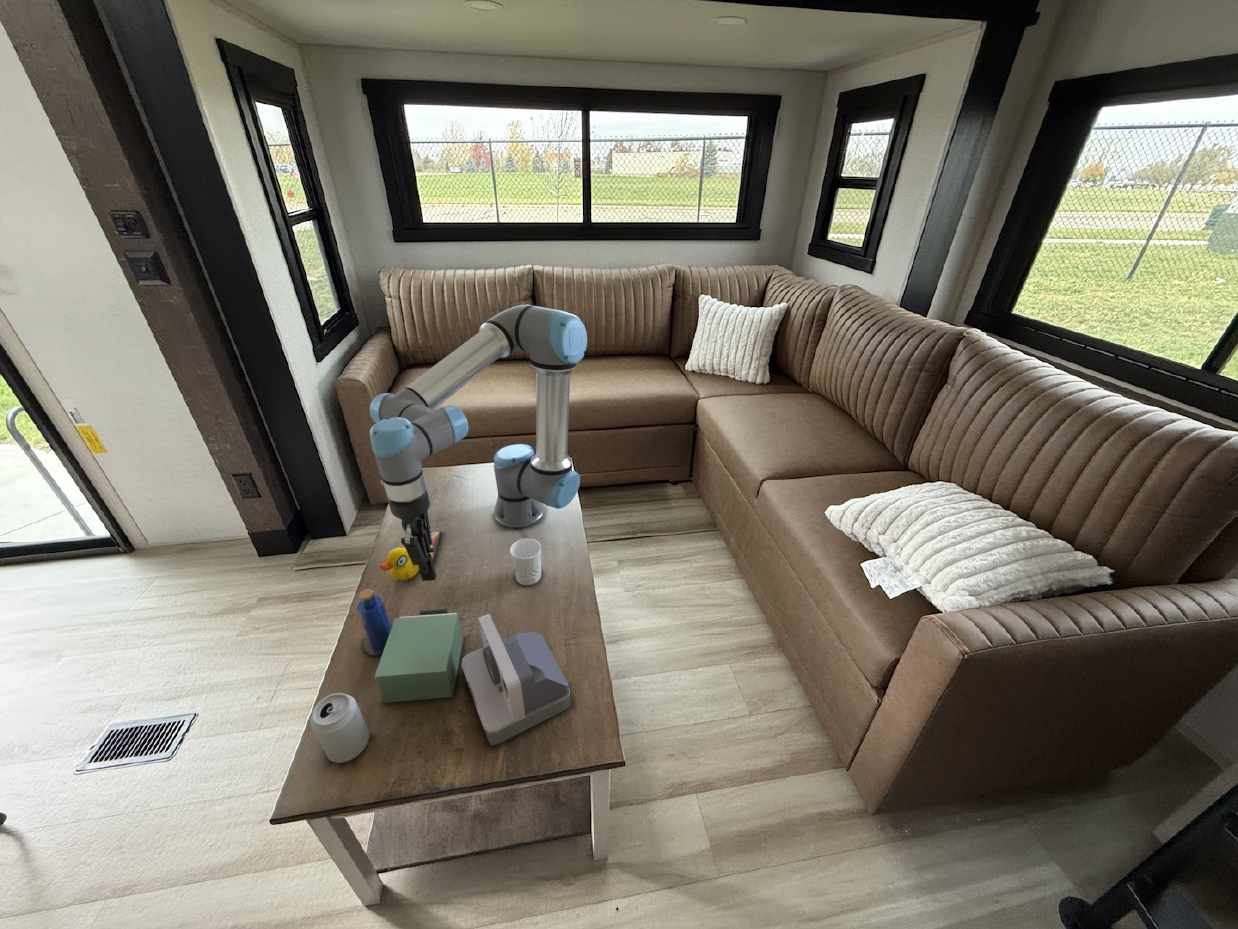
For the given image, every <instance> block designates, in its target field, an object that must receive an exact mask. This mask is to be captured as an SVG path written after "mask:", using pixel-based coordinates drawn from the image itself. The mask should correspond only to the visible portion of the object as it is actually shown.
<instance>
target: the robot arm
mask: <svg viewBox="0 0 1238 929" xmlns="http://www.w3.org/2000/svg"><path fill="white" fill-rule="evenodd" d="M478 331H479V332H477V333H475V335H473V336H472V337H470V339H467V341H465V342H464V343H463V344H461V345H460V346H458V347H457V348H456V349H454V350H453V351H452V352H450V353H449V354H448V355H446V356H445V357H444V358H443V359H441V360H440V361H438V362H437V363H436V364H434V365H433V366H432V367H430V368H429V369H427V370H426V371H425V372H424V373H422V374H421V375H420V376H418V377H417V378H416V379H414V380H413V381H412V382H410V383H409V384H408V385H406V386H404V388H402V389H401V390H399V391H398V392H396V393H389V392H384V393H380V394H378V395H376V396H375V397H374V398H373V399H372V401H371V403H370V406H369V415H370V418H371V420H372V421H373V423H374V424H373V425H372V426H371V428H370V430H369V437H370V443H371V450H372V453H373V455H374V457H375V461H376V464H377V467H378V471H379V474H380V477H381V480H380V485H382V486H383V488H384V491H385V494H386V497H387V502H388V506H389V509H390V513H391V514H392V516H394V517H395V518H397V519H399V520H401V528H402V529H403V531H404V533H405V536H403V537H401V538H400V543H401V545H402V546H403V547H404V548H406V550H407V553H408V555H409V557H410V559H411V561H412V563H413V565H418V566H419V570H418V571H419V573H420V577H421V580H422V582H428V581H429V582H430V581H436V578H437V573H436V568H435V564H434V562H433V560H432V556H431V554H430V553H434V548H431V547H430V545H432V538H431V526H430V519H429V508H430V506H431V501H430V496H429V492H428V488H427V482H426V478H425V474H424V471H423V466H422V461H424V460H426V459H427V458H430V457H431V456H433V455H435V454H436V453H439V452H441V451H443V450H445V449H447V448H449V447H451V446H454V445H456V443H458V442H459V441H461V440H463V439H464V438H466V437H467V435H468V433H469V422H468V421H469V420H468V418H467V417H466V415H465V413H464V412H463V411H462V410H461V409H460V408H459V407H457V406H455V405H447V406H444V407H440V408H439V406H441V405H442V404H443V403H444V402H446V401H447V400H448V399H449V398H451V397H452V396H453V395H454V394H456V393H457V392H458V391H459V390H461V389H462V388H463V387H464V386H466V385H467V384H468V383H469V382H471V381H472V380H473V379H474V378H476V377H477V376H478V375H479V374H480V373H482V372H483V371H484V370H486V369H487V368H488V367H490V365H492V364H493V363H494V362H495V361H497V360H498V359H499V358H501V359H502V358H507V357H508V356H510V355H511V354H512V353H514V352H525V353H529V354H530V355H529V356H530V366H531V367H532V368H533V369H534V371H535V373H536V384H535V385H536V389H535V393H536V395H535V396H536V397H535V398H536V400H535V401H536V404H535V410H536V412H535V413H536V414H535V416H536V417H535V451H534V449H533V447H532V446H530V445H529V444H525V443H524V444H523V443H516V444H510V445H507V446H504V447H502V448H500V449H499V450H497V451H496V452H495V453H494V455H493V471H494V477H495V484H496V490H497V499H496V502H495V506H494V519H495V521H496V522H497V523H498V524H499V525H500V526H502V527H504V528H508V529H514V530H515V529H516V530H517V529H525V528H528V527H531V526H534V525H535V524H537V523H538V522H540V521H541V520H542V519H543V517H544V514H545V507H544V505H545V506H546V507H550V508H554V509H557V510H559V509H563V508H566V507H567V506H568V505H569V504H570V503H571V502H572V501H573V499H574V498H575V497H576V495H577V493H578V491H579V488H580V485H581V476H580V474H579V473H578V472H577V471H575V470H573V459H572V457H571V456H570V455H569V454H568V444H569V418H570V417H569V416H570V414H569V413H570V388H571V374H572V372H573V371H574V370H575V369H576V368H577V363H579V362H581V361H582V359H583V358H584V356H585V352H586V351H587V347H588V334H587V329H586V327H585V324H584V323H583V321H582V320H581V318H580V317H579V316H577V315H575V314H573V313H569V312H567V311H564V310H560V309H555V308H548V307H543V306H537V305H534V304H519V305H515V306H512V307H510V308H507V309H505V310H503V311H500V312H499V313H497V314H495V315H494V316H492V317H491V318H488V320H487V321H485V322H484V323H482V324H481V325H480V326H479V330H478ZM437 408H439V409H437Z"/></svg>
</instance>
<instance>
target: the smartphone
mask: <svg viewBox="0 0 1238 929" xmlns="http://www.w3.org/2000/svg"><path fill="white" fill-rule="evenodd" d="M430 531H431V530H430ZM441 536H442V532H441V531H439V530H432V531H431V538H432V545H430V547H431V548H434V553H430V554H431V556H432V560H433V563H435V558H436V555H437V551H438V547H439V543H440V540H441Z"/></svg>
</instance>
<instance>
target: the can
mask: <svg viewBox="0 0 1238 929" xmlns="http://www.w3.org/2000/svg"><path fill="white" fill-rule="evenodd" d="M309 721H310V722H309V724H310V728H311V730H312V733H314V735H315V737H316V739H317V741H318V743H319V744H320V746H321V748H322V750H323V752H324V754H325V756H326V757H327V759H328V760H329V761H331V762H332V763H335V764H336V763H338V764H342V763H345V762H346V763H347V762H349V761H351V760H353V759H354V758H355V759H356V757H358V756H359V755H360V754H361V753H362V752H363V751H364V749H365V748H366V746H367V745H368V743H369V739H370V731H369V728H368V725H367V724H366V721H365V719H364V716H363V714H362V712H361V710H360V707H359V704H358V702H357V700H356V699H355V698H354V697H353V696H351V695H349V694H346V693H345V692H336V693H332V694H329V695H326V696H325V697H324V698H322V699H320V700H319V701H318V703H316V705H315V706H314V708H313V710H312V713H311V717H310V720H309Z"/></svg>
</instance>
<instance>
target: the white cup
mask: <svg viewBox="0 0 1238 929" xmlns="http://www.w3.org/2000/svg"><path fill="white" fill-rule="evenodd" d="M509 552H510V557H511V563H512V567H513V571H514V575H515V580H516V582H517V583H518V584H520V585H522V586H531V585H534V584H536V583H538V582H539V581H540V580H541V577H542V545H541V543H540V541H538V540H536V539H534V538H530V537H529V538H521V539H518V540H516V541H515V542H513V543H512V544H511V546H510V549H509Z"/></svg>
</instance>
